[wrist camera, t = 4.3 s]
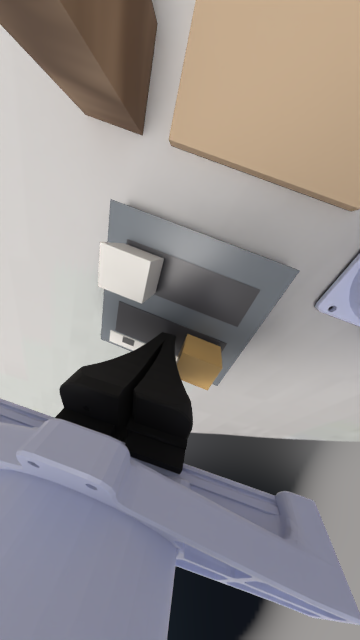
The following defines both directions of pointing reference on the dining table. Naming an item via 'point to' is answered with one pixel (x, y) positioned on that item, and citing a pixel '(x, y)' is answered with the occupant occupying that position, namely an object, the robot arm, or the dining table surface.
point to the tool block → (91, 51)
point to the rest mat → (275, 93)
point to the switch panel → (192, 288)
